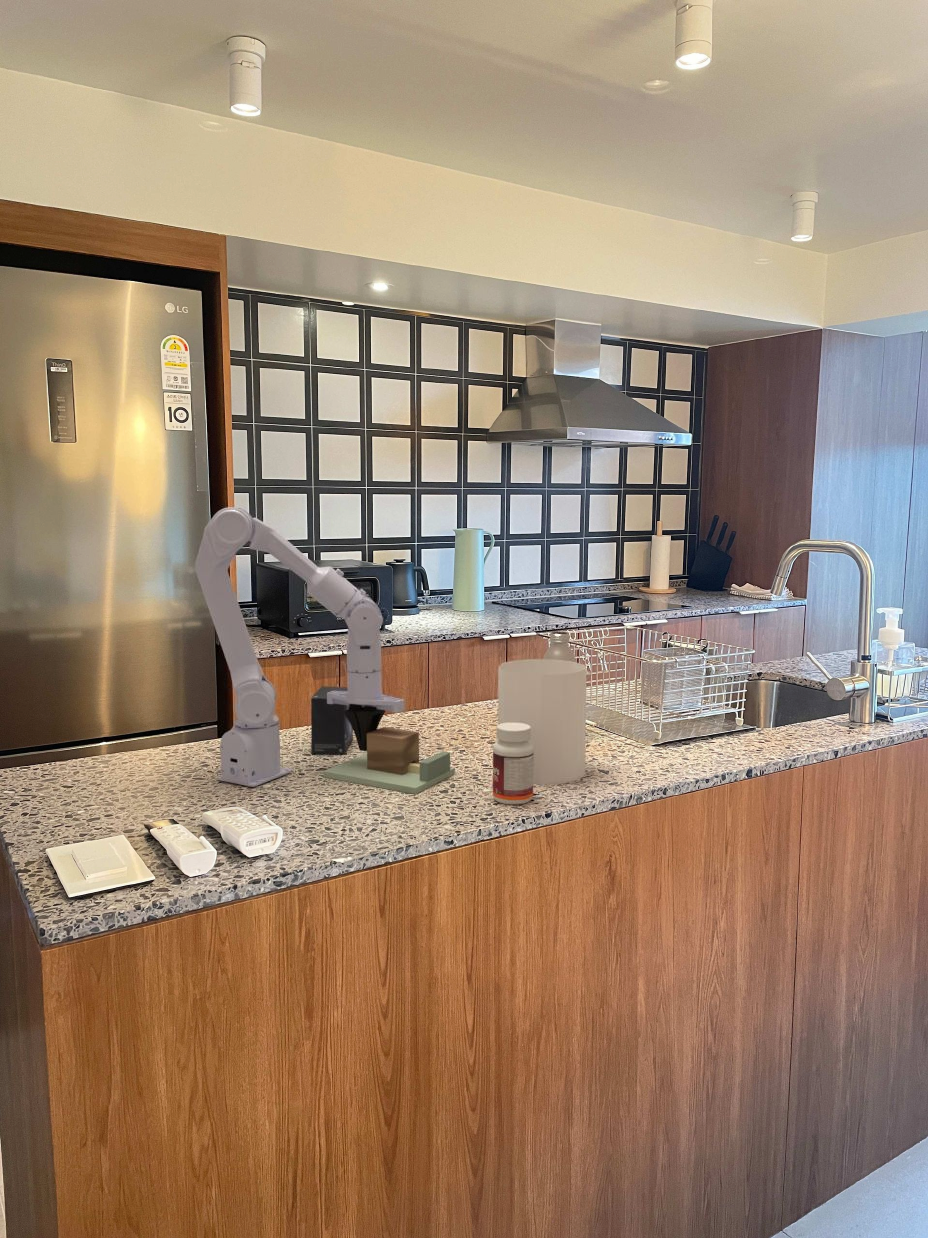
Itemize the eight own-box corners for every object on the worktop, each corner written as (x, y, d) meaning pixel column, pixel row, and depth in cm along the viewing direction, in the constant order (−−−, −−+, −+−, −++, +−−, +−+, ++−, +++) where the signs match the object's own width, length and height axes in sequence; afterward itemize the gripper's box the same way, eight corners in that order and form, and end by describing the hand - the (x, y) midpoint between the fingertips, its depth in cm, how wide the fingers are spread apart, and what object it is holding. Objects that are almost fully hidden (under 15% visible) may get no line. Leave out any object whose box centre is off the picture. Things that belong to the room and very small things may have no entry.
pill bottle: (490, 793, 137) (490, 721, 135) (529, 791, 137) (530, 720, 136) (495, 806, 130) (495, 732, 129) (536, 805, 131) (537, 730, 130)
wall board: (415, 794, 136) (415, 769, 135) (323, 777, 145) (322, 753, 144) (454, 773, 146) (454, 750, 146) (366, 758, 155) (365, 736, 155)
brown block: (402, 775, 142) (402, 739, 142) (367, 769, 146) (366, 733, 145) (419, 767, 147) (418, 732, 146) (384, 761, 150) (384, 727, 149)
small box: (346, 755, 158) (345, 697, 156) (310, 755, 158) (308, 697, 156) (355, 739, 168) (354, 685, 167) (321, 739, 168) (319, 685, 167)
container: (489, 763, 153) (489, 661, 151) (566, 757, 156) (568, 657, 154) (514, 789, 139) (514, 676, 137) (598, 781, 143) (600, 672, 140)
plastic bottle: (538, 738, 169) (539, 634, 166) (545, 729, 175) (546, 629, 173) (571, 740, 167) (573, 636, 164) (577, 731, 173) (579, 631, 171)
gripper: (413, 669, 147) (414, 749, 149) (343, 662, 154) (345, 738, 156) (390, 677, 141) (391, 759, 142) (318, 669, 148) (320, 748, 149)
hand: (365, 749), depth 149 cm, fingers closed
